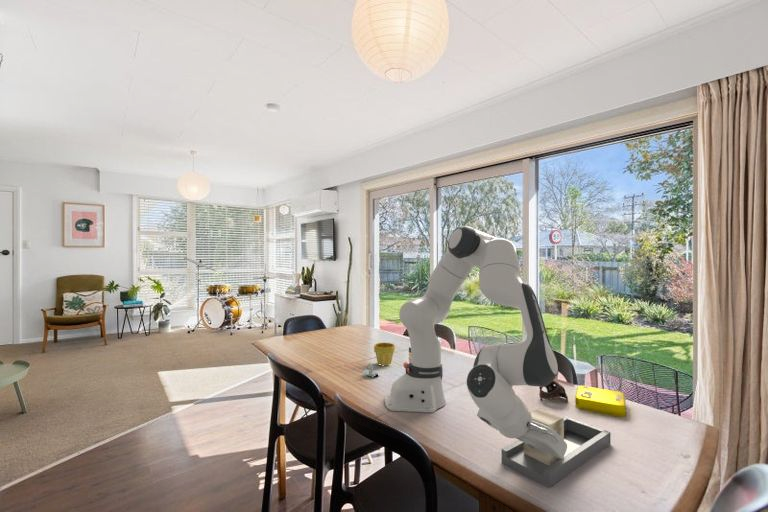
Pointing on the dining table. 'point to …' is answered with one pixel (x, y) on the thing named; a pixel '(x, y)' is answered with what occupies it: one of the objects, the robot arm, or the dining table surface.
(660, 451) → the dining table surface
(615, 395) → the element tile
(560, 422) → the block
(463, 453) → the dining table surface
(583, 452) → the grey rimmed tray
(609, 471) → the dining table surface
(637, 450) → the dining table surface
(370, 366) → the pacifier
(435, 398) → the robot arm
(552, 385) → the pottery mug
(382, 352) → the plant pot
